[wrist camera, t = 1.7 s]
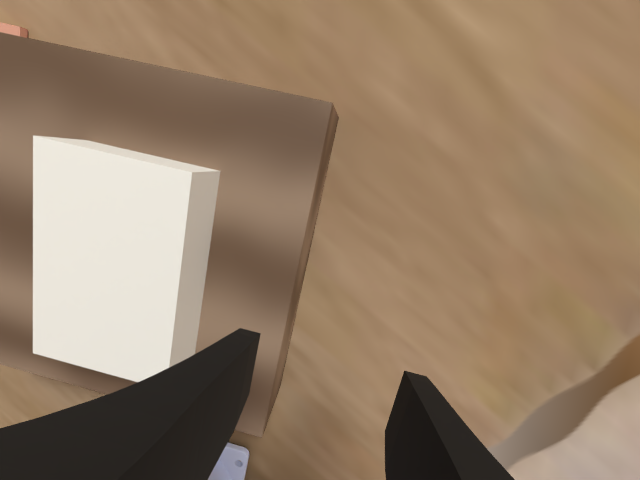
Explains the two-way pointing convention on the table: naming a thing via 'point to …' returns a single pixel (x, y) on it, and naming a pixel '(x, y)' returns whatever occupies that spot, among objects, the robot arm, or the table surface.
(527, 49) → the table surface
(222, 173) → the plate
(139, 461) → the robot arm
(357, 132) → the table surface
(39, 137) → the tile
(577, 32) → the table surface
